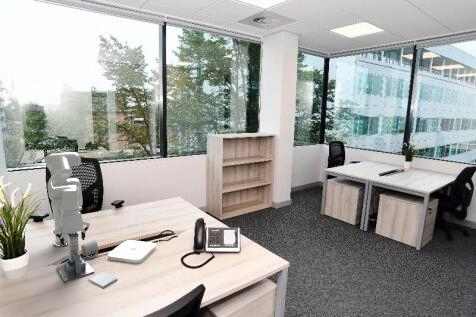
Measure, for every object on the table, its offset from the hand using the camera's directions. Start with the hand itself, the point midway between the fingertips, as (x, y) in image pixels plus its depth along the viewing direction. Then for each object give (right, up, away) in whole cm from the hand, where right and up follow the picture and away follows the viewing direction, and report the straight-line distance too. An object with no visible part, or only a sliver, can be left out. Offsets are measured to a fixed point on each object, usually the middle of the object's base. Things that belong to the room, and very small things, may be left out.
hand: (73, 241), depth 149 cm
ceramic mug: (-1, -14, +20) cm, 25 cm away
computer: (+23, -15, +24) cm, 36 cm away
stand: (0, -17, +3) cm, 17 cm away
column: (0, -10, +2) cm, 10 cm away
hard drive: (+19, -19, -5) cm, 27 cm away
